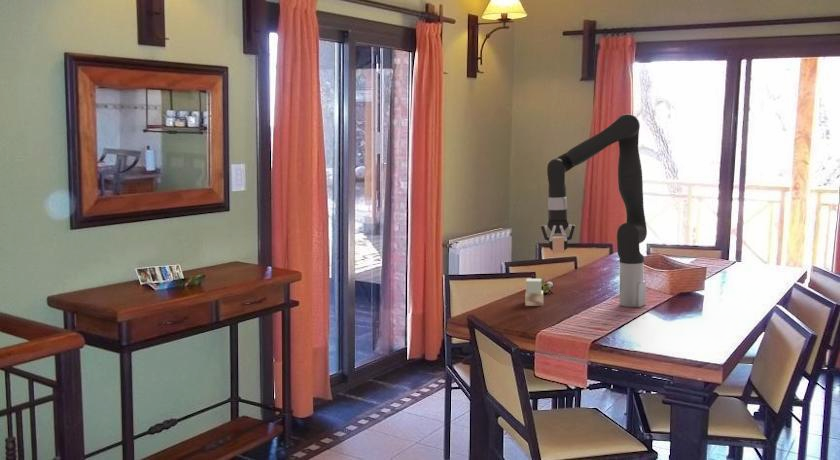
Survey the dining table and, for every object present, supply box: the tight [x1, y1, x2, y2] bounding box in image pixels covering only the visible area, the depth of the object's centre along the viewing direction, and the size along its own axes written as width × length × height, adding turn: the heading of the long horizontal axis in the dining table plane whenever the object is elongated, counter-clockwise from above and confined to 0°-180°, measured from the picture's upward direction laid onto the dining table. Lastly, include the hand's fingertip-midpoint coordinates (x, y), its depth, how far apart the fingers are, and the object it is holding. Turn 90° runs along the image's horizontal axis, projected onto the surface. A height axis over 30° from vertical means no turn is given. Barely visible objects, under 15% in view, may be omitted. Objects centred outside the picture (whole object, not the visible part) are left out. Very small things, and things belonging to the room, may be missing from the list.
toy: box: [540, 278, 554, 295], centre depth 336 cm, size 7×8×15 cm
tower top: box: [525, 278, 542, 294], centre depth 318 cm, size 6×6×5 cm
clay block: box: [552, 235, 565, 254], centre depth 316 cm, size 4×4×6 cm
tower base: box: [524, 291, 544, 307], centre depth 318 cm, size 7×7×5 cm
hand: (558, 250), depth 317 cm, fingers closed on clay block, 4 cm apart
